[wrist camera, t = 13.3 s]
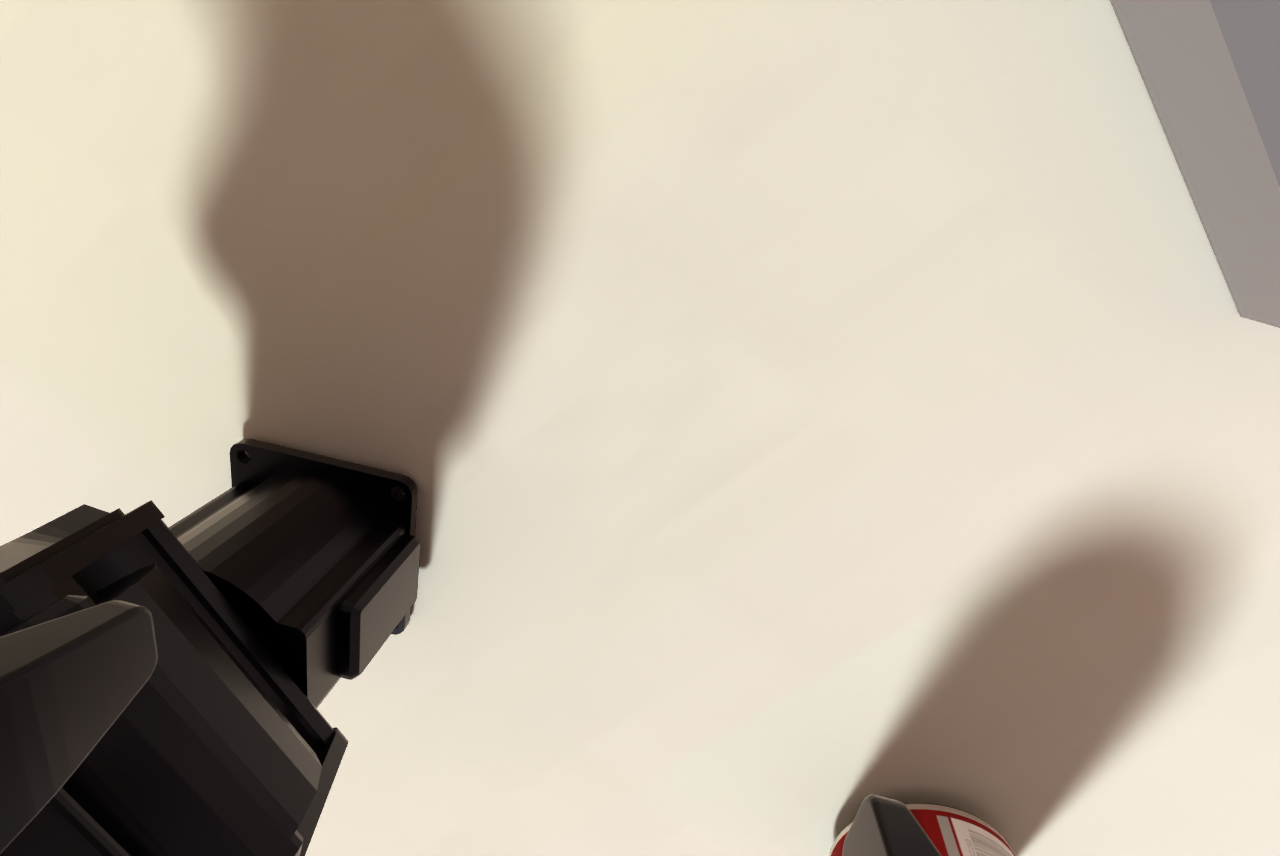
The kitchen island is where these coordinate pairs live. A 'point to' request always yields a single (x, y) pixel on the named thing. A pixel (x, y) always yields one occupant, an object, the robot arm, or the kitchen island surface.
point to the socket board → (1221, 126)
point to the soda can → (949, 833)
